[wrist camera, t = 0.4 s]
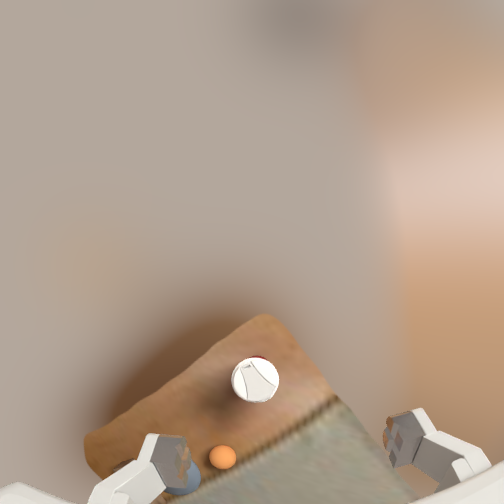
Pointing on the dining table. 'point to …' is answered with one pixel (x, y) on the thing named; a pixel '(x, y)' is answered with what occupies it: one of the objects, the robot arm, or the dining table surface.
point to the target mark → (192, 482)
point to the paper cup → (255, 379)
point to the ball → (222, 457)
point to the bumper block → (159, 500)
